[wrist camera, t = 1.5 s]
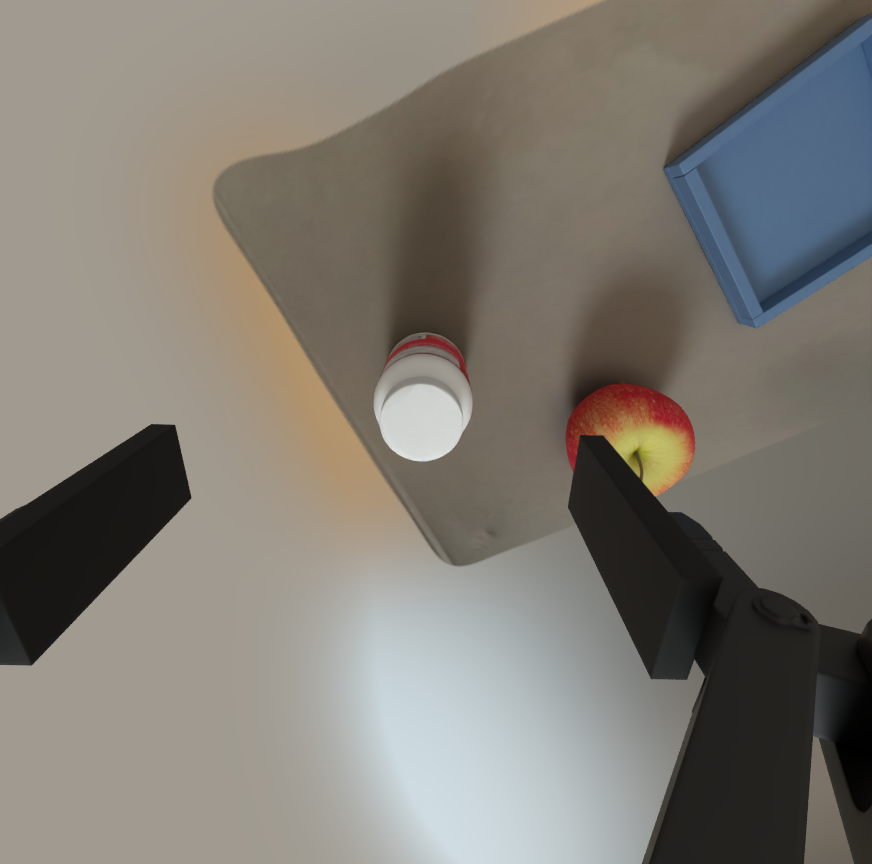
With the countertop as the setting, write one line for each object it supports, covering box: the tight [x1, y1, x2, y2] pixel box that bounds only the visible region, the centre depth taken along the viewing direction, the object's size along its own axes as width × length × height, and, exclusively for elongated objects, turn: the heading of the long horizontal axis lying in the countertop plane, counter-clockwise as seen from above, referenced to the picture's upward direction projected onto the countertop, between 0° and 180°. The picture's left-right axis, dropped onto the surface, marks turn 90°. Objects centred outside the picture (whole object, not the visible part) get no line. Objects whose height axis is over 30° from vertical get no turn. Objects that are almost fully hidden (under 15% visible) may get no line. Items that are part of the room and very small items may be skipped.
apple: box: [566, 384, 695, 497], centre depth 32 cm, size 8×8×10 cm
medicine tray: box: [664, 13, 872, 328], centre depth 29 cm, size 13×13×2 cm
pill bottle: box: [374, 332, 473, 461], centre depth 30 cm, size 6×6×11 cm
